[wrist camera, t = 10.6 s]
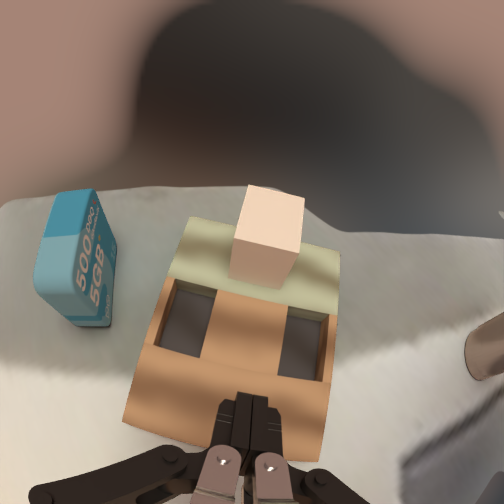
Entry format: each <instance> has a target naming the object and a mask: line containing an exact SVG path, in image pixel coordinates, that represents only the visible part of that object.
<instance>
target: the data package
mask: <svg viewBox="0 0 504 504" xmlns="http://www.w3.org/2000/svg"><path fill="white" fill-rule="evenodd" d="M116 252H117V248H116V241H115V238H114V236H113V234H112V231H111V229H110V226H109V224H108V222H107V219H106V217H105V214H104V212H103V209H102V207H101V204H100V202H99V199H98V196H97V194H96V192H95V190H94V189H83V190H75V191H67V192H60V193H58V194H57V195H56V196H55V199H54V201H53V204H52V207H51V210H50V213H49V216H48V219H47V222H46V226H45V229H44V232H43V236H42V239H41V243H40V247H39V250H38V254H37V258H36V263H35V267H34V272H33V284H34V288H35V290H36V292H37V293H38V295H39V296H40V297H42V298H43V299H44V300H45V301H46V302H47V303H48V304H50V305H51V306H52V307H53V308H54V309H55V310H57V311H58V312H59V313H60V314H61V315H63V316H64V317H65V318H66V319H68V320H69V321H70V322H71V323H73V324H74V325H75V326H109V324H110V322H111V314H112V296H113V282H114V271H115V262H116Z"/></svg>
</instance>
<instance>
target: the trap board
mask: <svg viewBox="0 0 504 504" xmlns="http://www.w3.org/2000/svg"><path fill="white" fill-rule="evenodd" d="M236 228H237V226H233V225H228V224H224V223H220V222H215V221H211V220H207V219H202V218H198V217H193V216H190V218H189V221H188V223H187V226H186V228H185V231H184V233H183V235H182V238H181V240H180V243H179V245H178V248H177V251H176V253H175V256H174V258H173V261H172V264H171V266H170V269H169V272H168V274H167V277H166V280H165V282H164V285H163V288H162V291H161V294H160V296H159V299H158V302H157V305H156V308H155V311H154V314H153V317H152V320H151V323H150V326H149V329H148V332H147V335H146V338H145V341H144V344H143V347H142V351H141V354H140V357H139V361H138V364H137V367H136V371H135V374H134V378H133V381H132V385H131V388H130V392H129V396H128V399H127V403H126V407H125V411H124V415H123V419H122V422H124V423H127V424H129V425H132V426H135V427H137V428H140V429H143V430H146V431H149V432H152V433H155V434H158V435H161V436H164V437H168V438H171V439H174V440H178V441H181V442H185V443H189V444H193V445H197V446H201V447H205V448H208V447H209V446H210V442H211V437H212V432H213V428H214V423H215V419H216V415H217V411H218V407H219V404H220V403H221V402H222V401H223V400H224V399H229V400H233V401H235V397H236V394H237V391H239V392H244V393H249V394H252V395H253V394H255V395H260V396H266V397H268V407H272V408H277V410H278V412H279V413H280V415H281V426H282V444H283V457H284V459H285V460H290V461H306V462H318V460H319V455H320V450H321V445H322V439H323V434H324V428H325V422H326V416H327V409H328V402H329V395H330V387H331V379H332V371H333V362H334V352H335V341H336V328H337V314H338V296H339V271H340V252H338V251H335V250H331V249H327V248H323V247H319V246H315V245H311V244H307V243H303V242H300V251H299V255H298V257H297V259H296V260H295V262H294V264H293V266H292V268H291V270H290V272H289V274H288V275H287V277H286V279H285V281H284V283H283V285H282V287H281V288H280V290H277V289H272V288H268V287H263V286H259V285H254V284H250V283H246V282H241V281H237V280H233V279H229V278H228V274H229V267H230V260H231V253H232V246H233V240H234V235H235V232H236Z"/></svg>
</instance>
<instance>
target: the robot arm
mask: <svg viewBox="0 0 504 504" xmlns="http://www.w3.org/2000/svg"><path fill="white" fill-rule="evenodd" d="M465 358H466V363H467V367H468V369H469V371H470V373H471V375H472V376H473V377H474V378H475V379H477V380H484V379H487V378H490V377H493V376H495V375H498V374H501V373H504V312H503V313H501V314H499V315H498V316H496V317H494V318H492V319H491V320H489V321H487V322H485V323H484V324H482V325H480V326H479V327H478V329H476V330H474V331H472V332H471V333H470V335H469V336H468V338H467V341H466V346H465ZM238 475H239V476H244V484H243V485H242V488H241V504H370V503H368V502H367V501H366V500H364V499H363V498H362V497H360V496H359V495H358V494H357V493H355V492H354V491H353V490H351V489H350V488H349V487H348V486H346V485H345V484H344V483H343V482H342V481H340V480H339V479H338V478H337V477H335V476H334V475H333V474H332V473H331V472H329V471H327V470H325V469H313V470H311V471H309V472H305V471H302V470H299V469H296V468H294V467H292V466H290V465H289V464H288V463H287V461H286V460H285V459H284V457H283V444H282V426H281V415H280V413H279V412H278V410H277V408H272V407H268V397H266V396H260V395H255V394H253V395H252V394H249V393H244V392H239V391H237V394H236V397H235V401H233V400H229V399H224V400H223V401H222V402H221V403H220V404H219V407H218V411H217V415H216V419H215V423H214V428H213V432H212V437H211V442H210V446H209V447H208V448H207V449H206V450H204V451H202V452H199V453H185V452H184V451H183V450H182V449H180V448H179V447H177V446H173V445H161V446H159V447H156V448H154V449H152V450H149V451H147V452H144V453H142V454H139V455H137V456H134V457H132V458H129V459H126V460H124V461H121V462H118V463H115V464H113V465H110V466H107V467H104V468H101V469H98V470H94V471H91V472H88V473H85V474H81V475H78V476H74V477H70V478H66V479H62V480H58V481H54V482H50V483H45V484H40V485H36V486H34V487H33V488H31V490H30V491H29V494H28V498H29V502H30V504H163V503H165V502H167V501H169V500H171V499H173V498H175V497H176V496H178V495H180V494H192V493H193V496H192V498H191V501H190V504H234V502H235V498H234V494H235V489H236V484H237V480H238Z"/></svg>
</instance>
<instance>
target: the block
mask: <svg viewBox="0 0 504 504" xmlns="http://www.w3.org/2000/svg"><path fill="white" fill-rule="evenodd" d="M303 211H304V198H301V197H297V196H293V195H290V194H286V193H282V192H278V191H273V190H269V189H265V188H261V187H257V186H252V185H249V186H248V189H247V193H246V196H245V200H244V203H243V207H242V210H241V214H240V217H239V221H238V224H237V228H236V232H235V235H234V240H233V246H232V253H231V260H230V267H229V274H228V278H229V279H233V280H237V281H241V282H246V283H250V284H254V285H259V286H263V287H268V288H272V289H277V290H280V288H281V287H282V285H283V283H284V281H285V279H286V277H287V275H288V274H289V272H290V270H291V268H292V266H293V264H294V262H295V260H296V259H297V257H298V255H299V251H300V242H301V232H302V221H303Z"/></svg>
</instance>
